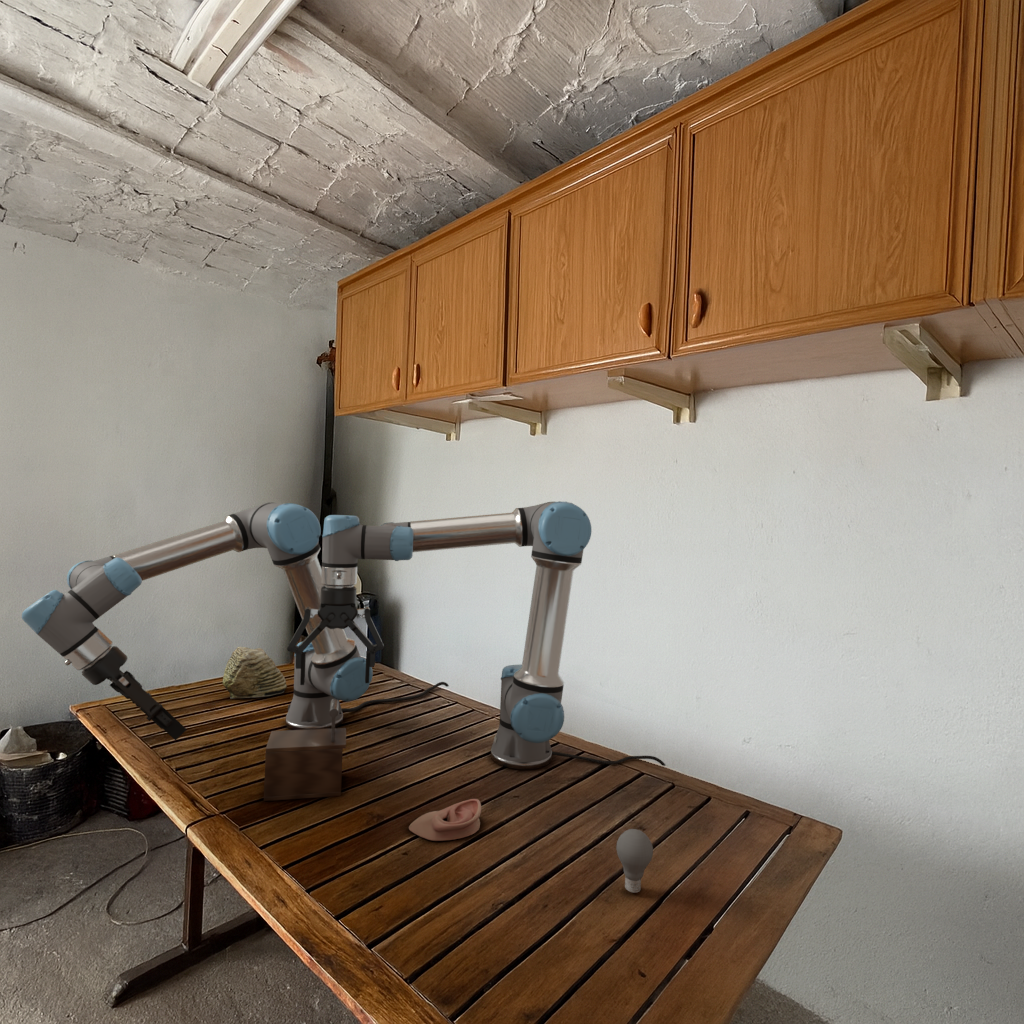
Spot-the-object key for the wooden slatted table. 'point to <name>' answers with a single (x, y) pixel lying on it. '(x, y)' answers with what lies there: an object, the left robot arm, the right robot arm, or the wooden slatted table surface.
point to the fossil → (252, 674)
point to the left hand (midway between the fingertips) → (173, 729)
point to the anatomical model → (449, 822)
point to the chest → (302, 774)
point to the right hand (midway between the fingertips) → (335, 682)
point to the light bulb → (634, 857)
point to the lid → (309, 737)
